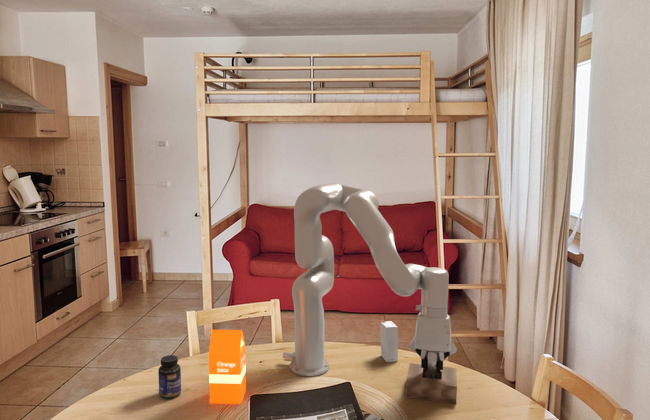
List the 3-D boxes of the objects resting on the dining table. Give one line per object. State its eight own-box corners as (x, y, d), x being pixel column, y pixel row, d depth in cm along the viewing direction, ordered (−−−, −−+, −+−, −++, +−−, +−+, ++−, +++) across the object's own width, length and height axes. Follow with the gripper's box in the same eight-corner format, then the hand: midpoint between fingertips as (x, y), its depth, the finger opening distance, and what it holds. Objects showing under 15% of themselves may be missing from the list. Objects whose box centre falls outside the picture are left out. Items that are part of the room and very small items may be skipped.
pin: (425, 381, 143) (426, 345, 142) (425, 375, 147) (426, 340, 145) (437, 382, 142) (439, 346, 141) (438, 377, 146) (439, 341, 144)
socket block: (405, 397, 141) (406, 380, 140) (409, 378, 152) (409, 363, 152) (456, 403, 137) (456, 386, 137) (455, 383, 149) (456, 368, 148)
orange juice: (216, 390, 145) (214, 324, 142) (246, 390, 144) (245, 325, 142) (209, 403, 137) (207, 334, 134) (241, 404, 137) (239, 335, 134)
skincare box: (398, 361, 164) (399, 326, 163) (385, 362, 163) (386, 327, 162) (391, 354, 170) (392, 320, 169) (379, 355, 169) (380, 321, 168)
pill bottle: (169, 402, 138) (167, 364, 136) (154, 396, 141) (153, 359, 139) (185, 393, 143) (184, 356, 141) (171, 387, 146) (170, 352, 145)
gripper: (403, 312, 140) (402, 373, 143) (464, 317, 136) (461, 380, 139) (406, 304, 148) (404, 362, 150) (463, 309, 144) (460, 368, 146)
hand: (431, 370), depth 144 cm, fingers closed on pin, 3 cm apart
